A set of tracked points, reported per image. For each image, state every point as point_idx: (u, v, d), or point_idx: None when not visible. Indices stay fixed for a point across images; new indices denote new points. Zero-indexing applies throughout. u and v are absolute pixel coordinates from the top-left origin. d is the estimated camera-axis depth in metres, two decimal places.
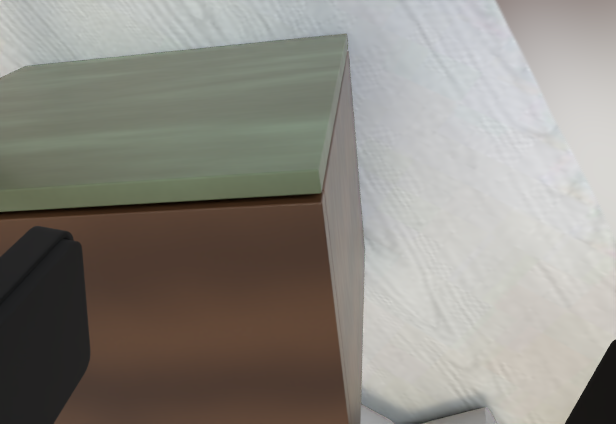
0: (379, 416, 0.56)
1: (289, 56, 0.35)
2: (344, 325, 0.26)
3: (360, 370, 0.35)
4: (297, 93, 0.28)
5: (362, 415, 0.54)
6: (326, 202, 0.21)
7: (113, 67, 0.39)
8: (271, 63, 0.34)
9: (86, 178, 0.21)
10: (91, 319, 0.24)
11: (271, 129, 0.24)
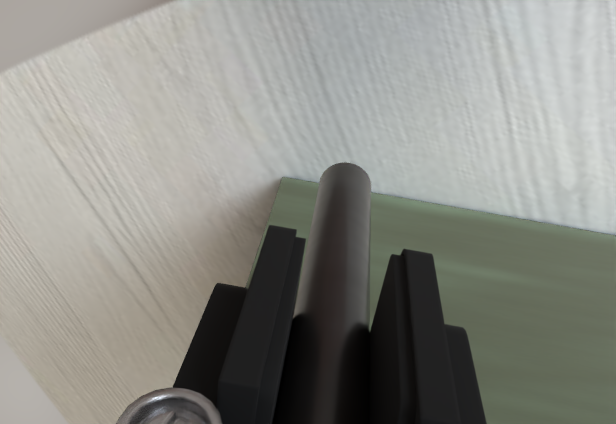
0: None
1: None
2: None
3: None
4: None
5: None
6: None
7: (457, 242, 0.27)
8: None
9: None
10: None
11: None
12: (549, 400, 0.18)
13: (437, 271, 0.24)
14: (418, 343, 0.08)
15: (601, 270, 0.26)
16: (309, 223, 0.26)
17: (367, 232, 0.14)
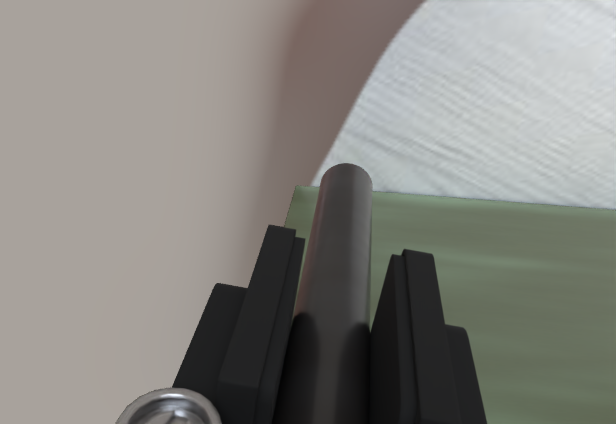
0: None
1: None
2: None
3: None
4: None
5: None
6: None
7: (476, 233, 0.26)
8: None
9: None
10: None
11: None
12: (580, 386, 0.18)
13: (457, 265, 0.24)
14: (419, 343, 0.08)
15: None
16: None
17: (366, 230, 0.14)
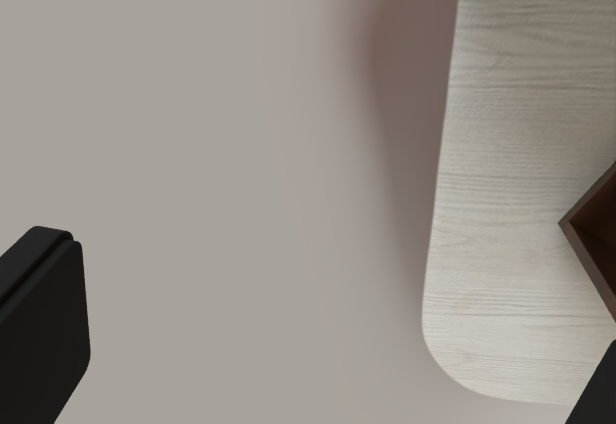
0: None
1: None
2: None
3: None
4: None
5: None
6: None
7: None
8: None
9: None
10: None
11: None
12: None
13: None
14: None
15: None
16: None
17: None
